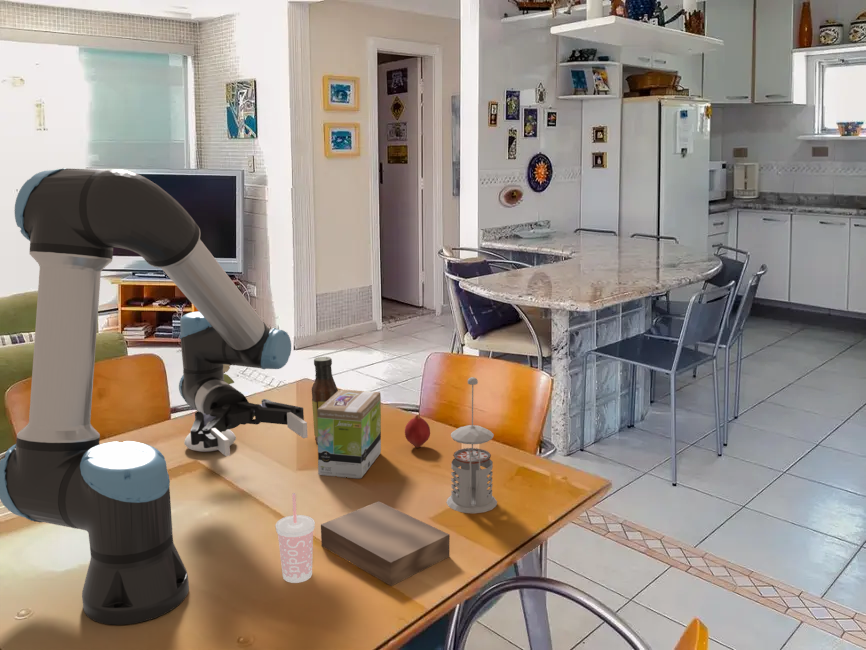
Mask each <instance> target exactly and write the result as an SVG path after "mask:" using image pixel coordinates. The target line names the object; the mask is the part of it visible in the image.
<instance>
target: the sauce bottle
mask: <svg viewBox="0 0 866 650" xmlns="http://www.w3.org/2000/svg"><path fill="white" fill-rule="evenodd" d="M332 364H333V360H332V358H331V357H329V356H320V357H316V358H314V359H313V365H314V369H315V370H314V372H315V379H314V381H313V384H312V386H311V398H312V399H311V403H312V404H311V406H312V408H311V409H312V417H313V418H312V419H313V421H312V422H313V432H314V440H315V442H316V443H318V411H317V410H318V408H319V407H320V406H322V405H323V404H324V403H325V402H326V401H327V400H328V399H329V398H331V397H332V396H333V395H334V394H335V393H336V392H337V391H338V390H339V389H338V386H337V385H336V382H335V380H334V377H333V371H332Z"/></svg>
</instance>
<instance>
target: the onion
mask: <svg viewBox="0 0 866 650" xmlns="http://www.w3.org/2000/svg"><path fill="white" fill-rule="evenodd" d="M430 436H431V428H430V425H429V423H428V422H427V421H426V420H425V419H424V418H422V417H421V415H420V414H418V413H417V414H415V416H414V417H412V418H411V419H410V420H408V422H407V423H406V424H405V427H404V437H405V439H406V440H407V442H409V443H410V444H411V445H412V446H414V448H417V449H418V448H421V447H422V446H423V445H424V444H425V443H426V442H427V441H428V440H429V439H430Z"/></svg>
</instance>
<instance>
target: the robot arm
mask: <svg viewBox="0 0 866 650" xmlns="http://www.w3.org/2000/svg"><path fill="white" fill-rule="evenodd" d="M14 219H15V223H16V225H17V226H16V227H18V228H19V230H20V231H19V232H20V233H21V234H22V237H24V238H25V239H26V240H28V241H29V242H30V243H29V255H30V256H31V257H32V258H33V260H35V262H36V263H37V264H38V266H39V274H38V287H37V302H36V304H37V305H36V314H35V318H36V319H35V329H34V330H35V331H34V342H33V344H34V346H33V357H32V359H33V360H32V372H31V373H32V375H31V385H30V386H31V388H30V400H29V401H30V403H29V413H28V415H29V417H28V423H27V424H26V426H24V427H22V429H21V430H20V431H19V432H17V434H16V443H15V444H13V445H12V446H10V447H9V448H8V449H7V450H6V451H5V453H4V456H5V457H4V458H1V459H0V502H1V503H2V505H3V506H4V507H5V508H6V510H8V511H9V512H10V513H12V514H13V515H15V516H18V517H22V518H25V519H27V520H30V521H31V522H35V523H36V522H37V523H47V524H51V525H56V526H61V527H66V528H72V529H76V530H77V529H78V530H81V531H82V530H83V531H86V532H87V534H88V541H89V551H90V560H89V565H88V568H87V572H86V576H85V579H84V584H83V587H82V593H81V597H82V599H81V600H82V608H83V612H84V614H85V615H86V616H87V617H88V618H89V619H90V620H92V621H93V622H94V621H95V622H98V623H101V624H105V625H112V626H113V625H116V626H117V625H118V626H120V625H132V624H137V623H143V622H146V621H150V620H153V619H155V618H158V617H160V616H164V615H165V614H167V613H169V612H171V611H172V610H174V609H176V608H177V607H178V606H180V604H181V603H183V601H184V600H185V599H186V597H188V596H187V595H188V594H189V590H190V586H189V585H190V584H189V574H188V571H187V568H186V567H185V565H184V563H183V560H182V557H181V556H180V554H179V552H178V548H176V545H175V543H174V539H173V538H174V536H173V523H172V522H173V521H172V520H173V519H172V505H171V493H170V492H171V489H170V484H171V483H170V482H171V480H170V475H169V473H168V467H167V460H166V459H165V456H164V455H163V454H162V452H161V451H160V450H159V449H158V448H156V447H154V446H152V445H150V444H147V443H143V442H139V441H133V440H125V441H123V442H121V441H120V442H119V441H117V440H115V441H110V442H104V443H100V438H101V435H100V432H98V430H97V429H95V428H94V426H93V425H92V424H91V420H92V418H91V417H92V402H93V389H94V376H95V375H94V373H95V362H96V361H95V359H96V358H95V357H96V348H97V347H96V346H97V345H96V344H97V331H98V319H99V303H100V291H101V290H100V287H101V275H102V274H101V273H102V271H103V270H104V269H105V268H106V267H107V266H109V265H110V264H111V263H112V262H113V257H114V256H113V255H114V248H115V249H116V248H117V249H118V248H120V249H123V250H124V249H125V250H128V251H131V252H134V253H136V254H138V255H139V256H141V257H142V259H144V261H145V262H146V263H147V264H148V265H150V266H151V267H153V268H159V269H162V271H163V272H164V273H165V274H166V276H168V278H169V279H170V280H171V281H172V282H173V284H175V286H176V287H177V289H179V290H180V291H181V292H182V294H183V295H184V296H185V297H186V298H187V300H188V301H189V302H190V303H191V304H192V305H193V306H194V307H195V309H196V310H197V311H193V312H192V311H191V312H188V313H186V314H183V315H182V317H181V318H180V320H179V321H180V322H179V323H180V324H179V325H180V327H179V328H180V335H179V339H180V349H181V358H182V359H181V360H182V368H183V369H182V374H183V375H181V378H180V379H179V382H178V391H179V393H180V396H181V397H182V399H183V400H184V402H185V403H186V404H187V405H188V406H189V407H191V408H192V409H194V410H195V411H196V412H195V413H194V420H193V421H194V422H192V423H193V424H192V426H191V428H190V432H191V444H192V445H197V444H199V442H203V445H204V448H210V447H216V448H217V449H218V450H217V451H219V452H220V453H221V454H222V455H223V456H224V457H229V456H231V449H230V448H231V447H230V446H229V439H228V438H227V437H225V436H224V435H223V434H222V433H221V432H222V431H226V430H227V429H230V430H233V429H234V428H237V427H238V426H240V425H248V424H250V425H260V424H261V423H262V424H263V423H264V424H265V423H266V424H275V425H286V426H287V428H288V429H289V430H290V431H292V432H294V433H295V434H296V435H297V436H300V437H301V438H303V439H307V438H308V422H307V421H305V420H304V419H305V417H304V414H305V413H304V407H303V406H302V407H301V406H298V405H292V404H287V403H282V402H276V401H272V400H270V399H267V398H263V399H261V403H260V404H259V403H257V404H256V403H253V402H250V401H248V399H247V397H246V396H245V394H244V393H242V392H241V391H239V390H238V389H236V388H235V387H234V386H232V384H228V383H226V382H225V381H224V374H225V373H223V364H226V365H230V366H239V367H246V368H247V367H248V368H253V369H262V370H280V369H282V368H283V367H285V366H286V365H287V364H288V362H289V359H290V357H291V352H292V341H291V337H290V335H289V333H288V332H287V331H285V330H283V329H278V328H277V327H276V328H275V327H273V328H270V327H268V326H267V325H266V323H265V322H264V321H263V320H262V319H263V318H261V316H260V315H259V314H258V313H257V312H256V310H255V309H254V308H253V306H252V305H251V304H250V302H249V301H248V300H247V298H246V296H244V295H243V293H242V292H241V290H240V289H239V288H238V286H237V285H236V284H235V283H234V282H233V280H232V279H231V278H230V276H229V275H228V274H227V273H226V271H225V269H224V268H223V267H222V266H221V264H220V263H219V262H218V261H217V259H216V257H214V256H213V254H212V253H211V251H210V250H209V249H208V248H207V246H206V244H204V242H203V241H202V239H201V229H200V227H199V225H198V224H197V223H196V221H195V220H194V219H193V217H192V216H191V215H190V213H189V212H188V211H187V210H186V209H185V208H184V206H182V205H181V204H180V203H179V201H178V200H176V199H175V198H174V197H173V196H172V195H170V194H169V193H168V192H167V191H165V190H164V189H163V188H162V187H161V186H159V185H158V184H157V183H156V182H155V183H154V182H153V181H151V180H150V179H148V178H147V177H145V176H144V175H143V176H142V175H140V174H139V173H136V172H133V171H129V170H125V169H118V168H117V169H115V168H114V169H97V168H96V169H95V168H94V169H93V168H65V167H63V168H57V169H52V170H51V169H49V170H48V169H47V170H44V171H39V172H37V173H35V174H34V175H32V176H31V177H30V178H29V179H27V180H26V181H25V182H24V183H23V185H22V186H21V188H20V189H19V192H18V193H17V195H16V199H15V204H14ZM209 421H210V423H209V424H207V423H208V422H209Z"/></svg>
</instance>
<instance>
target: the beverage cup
mask: <svg viewBox="0 0 866 650" xmlns="http://www.w3.org/2000/svg"><path fill="white" fill-rule="evenodd" d="M291 496H292V512H293V513H292V515H287V516H284V517H282V518H280V519H279V520H277V521H276V522H275V531H276V533H277V538H278V545H279V555H280V562H281V563H280V565H281V572H282V578H283V580H284V581H286V582H288V583H291V584H298V583H299V584H300V583H304V582H306V581H308V580H309V579H311V577H312V575H313V555H314V554H313V550H314V547H313V546H314V530H315V527H316V522H315V520H314V518H312V517H310V515H309V516H308V515H303V514H297V502H296V501H297V498H296V497H297V496H296V492H293V493H292V495H291Z"/></svg>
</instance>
